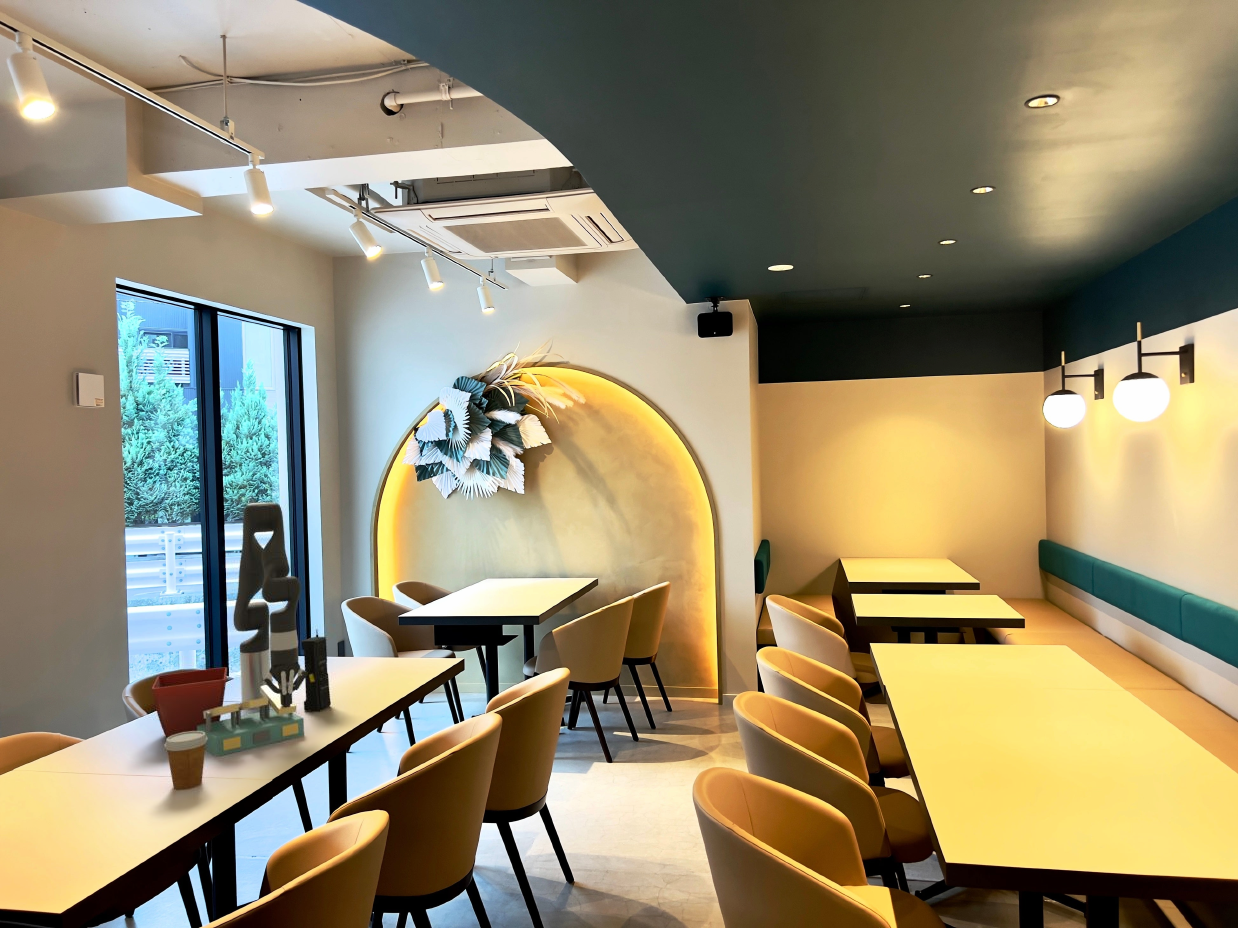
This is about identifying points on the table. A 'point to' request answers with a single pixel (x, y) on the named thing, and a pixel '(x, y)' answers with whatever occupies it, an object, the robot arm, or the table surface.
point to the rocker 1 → (222, 710)
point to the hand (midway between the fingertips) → (286, 706)
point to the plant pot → (188, 698)
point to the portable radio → (316, 674)
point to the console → (250, 730)
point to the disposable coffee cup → (186, 758)
